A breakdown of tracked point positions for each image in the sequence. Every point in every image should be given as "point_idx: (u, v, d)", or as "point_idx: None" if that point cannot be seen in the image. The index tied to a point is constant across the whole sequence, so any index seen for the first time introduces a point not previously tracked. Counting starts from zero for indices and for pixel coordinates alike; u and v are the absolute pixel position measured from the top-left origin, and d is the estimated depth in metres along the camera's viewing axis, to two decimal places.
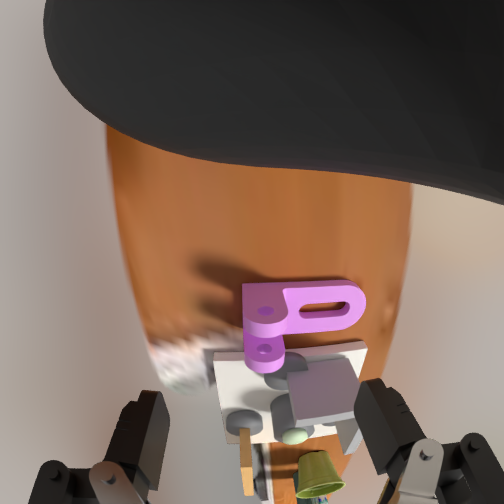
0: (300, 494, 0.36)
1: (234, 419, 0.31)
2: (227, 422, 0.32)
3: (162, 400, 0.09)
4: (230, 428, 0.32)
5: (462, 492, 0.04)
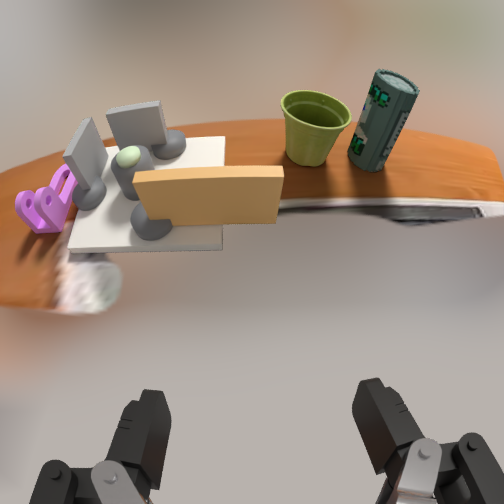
0: (340, 128, 0.31)
1: None
2: (139, 234, 0.29)
3: (164, 399, 0.09)
4: (148, 228, 0.29)
5: (461, 492, 0.04)
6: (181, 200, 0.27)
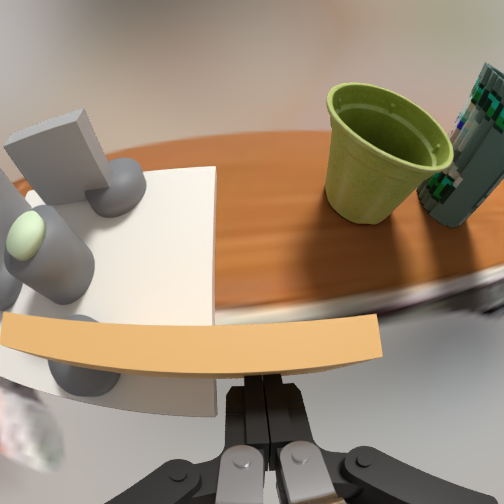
0: None
1: (51, 369, 0.12)
2: None
3: None
4: (75, 385, 0.12)
5: None
6: (114, 370, 0.10)
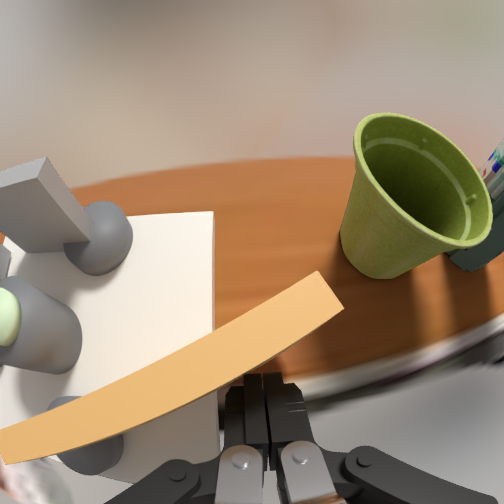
0: (478, 230, 0.11)
1: (64, 461, 0.09)
2: None
3: None
4: (90, 465, 0.10)
5: None
6: (110, 437, 0.08)
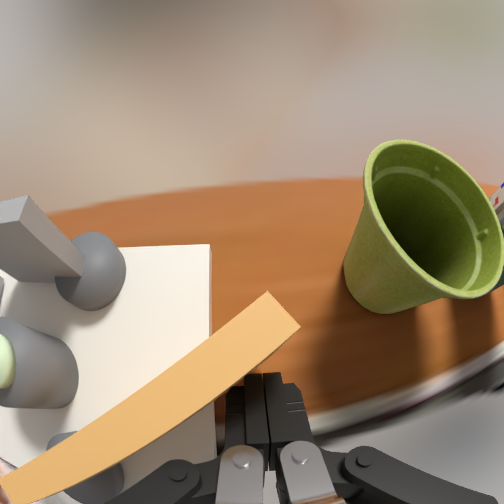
0: (489, 272, 0.10)
1: (72, 496, 0.08)
2: None
3: None
4: (96, 496, 0.09)
5: None
6: None
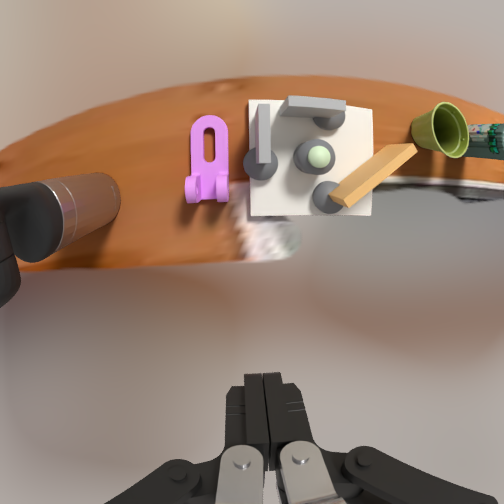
0: (459, 152, 0.34)
1: (324, 212, 0.41)
2: None
3: None
4: (337, 207, 0.41)
5: None
6: None
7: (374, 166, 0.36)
